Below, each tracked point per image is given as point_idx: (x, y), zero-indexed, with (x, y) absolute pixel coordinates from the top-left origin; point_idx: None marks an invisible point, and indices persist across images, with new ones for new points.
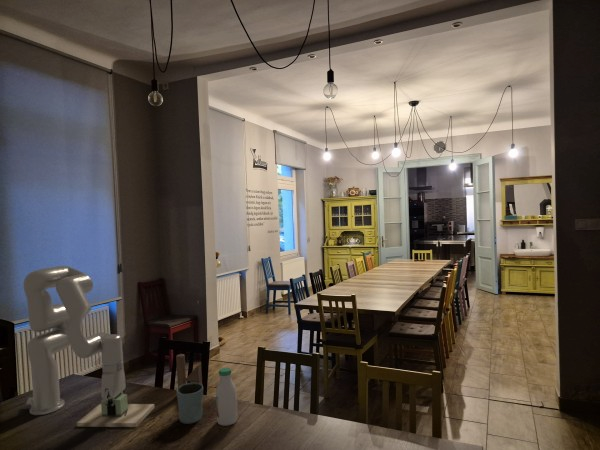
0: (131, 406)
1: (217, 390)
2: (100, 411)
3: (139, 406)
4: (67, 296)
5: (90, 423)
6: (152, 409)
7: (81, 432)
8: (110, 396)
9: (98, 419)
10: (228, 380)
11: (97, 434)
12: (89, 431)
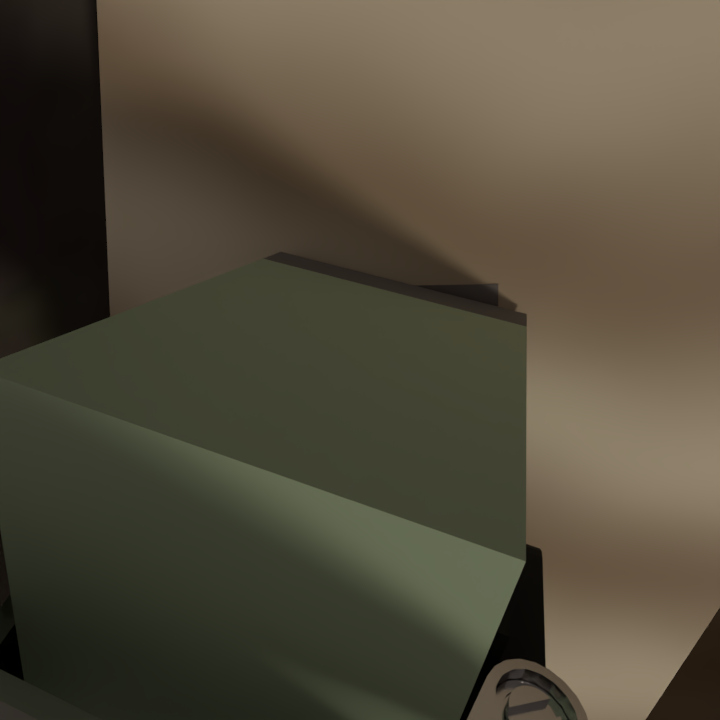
0: (574, 648)
1: None
2: (535, 113)
3: None
4: None
5: (114, 114)
6: None
7: (8, 46)
8: (252, 651)
9: (200, 220)
10: None
11: (6, 304)
12: (43, 167)
